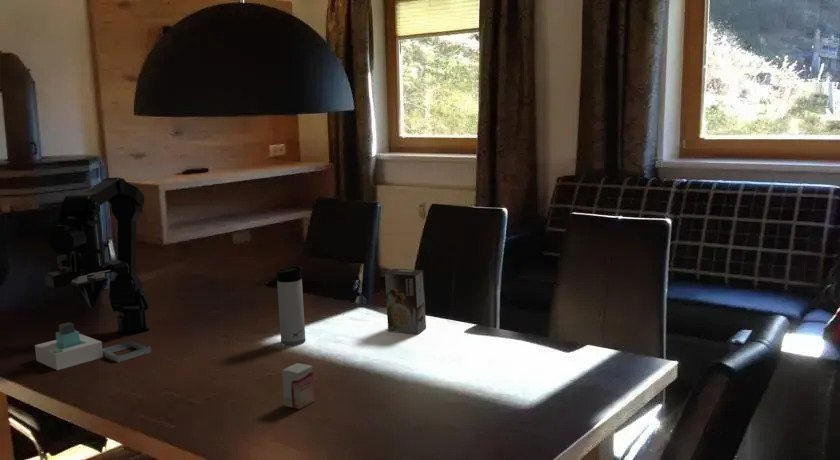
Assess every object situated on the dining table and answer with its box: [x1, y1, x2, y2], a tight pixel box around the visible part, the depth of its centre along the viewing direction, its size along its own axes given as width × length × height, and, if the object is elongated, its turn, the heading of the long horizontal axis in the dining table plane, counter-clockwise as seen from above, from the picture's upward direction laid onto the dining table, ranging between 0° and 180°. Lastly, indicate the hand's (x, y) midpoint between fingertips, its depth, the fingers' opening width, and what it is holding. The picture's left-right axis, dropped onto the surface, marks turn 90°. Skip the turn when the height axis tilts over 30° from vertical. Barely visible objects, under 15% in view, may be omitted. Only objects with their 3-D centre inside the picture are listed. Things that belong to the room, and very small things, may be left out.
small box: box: [281, 362, 315, 410], centre depth 160 cm, size 5×4×8 cm
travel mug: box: [276, 265, 306, 347], centre depth 199 cm, size 6×7×20 cm
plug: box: [55, 322, 80, 349], centre depth 193 cm, size 4×4×9 cm
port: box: [34, 333, 104, 371], centre depth 193 cm, size 12×12×4 cm
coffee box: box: [384, 268, 427, 335], centre depth 207 cm, size 9×6×16 cm
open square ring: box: [102, 339, 152, 363], centre depth 196 cm, size 9×9×2 cm
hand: (91, 306), depth 193 cm, fingers closed
